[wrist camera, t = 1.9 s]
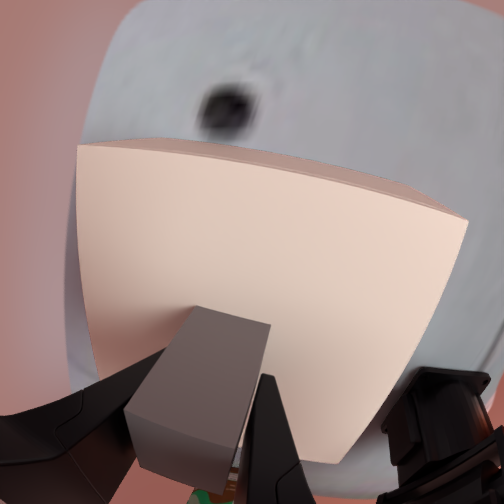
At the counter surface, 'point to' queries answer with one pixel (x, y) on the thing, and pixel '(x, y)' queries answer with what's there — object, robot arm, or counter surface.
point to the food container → (203, 500)
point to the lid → (250, 298)
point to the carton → (283, 165)
